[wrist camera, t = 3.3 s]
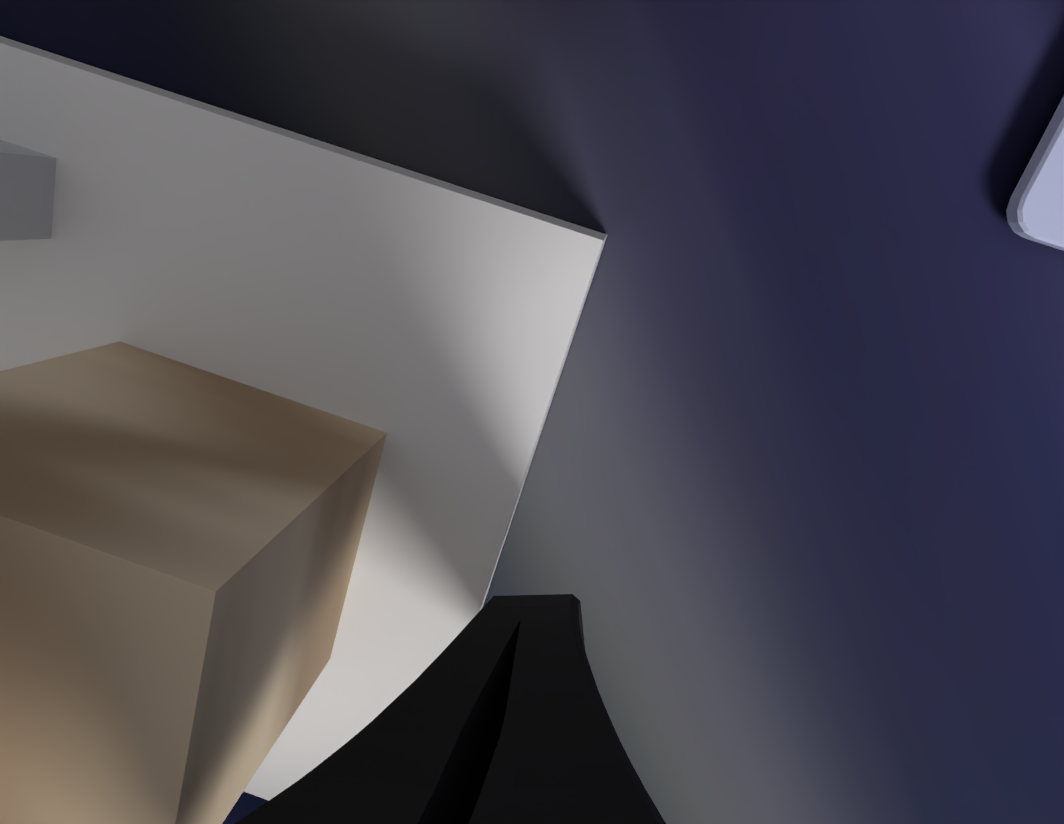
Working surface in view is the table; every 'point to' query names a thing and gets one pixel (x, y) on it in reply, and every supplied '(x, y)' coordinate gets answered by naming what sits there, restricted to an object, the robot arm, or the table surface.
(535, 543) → the table surface
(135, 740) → the maple block
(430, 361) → the channel deck
